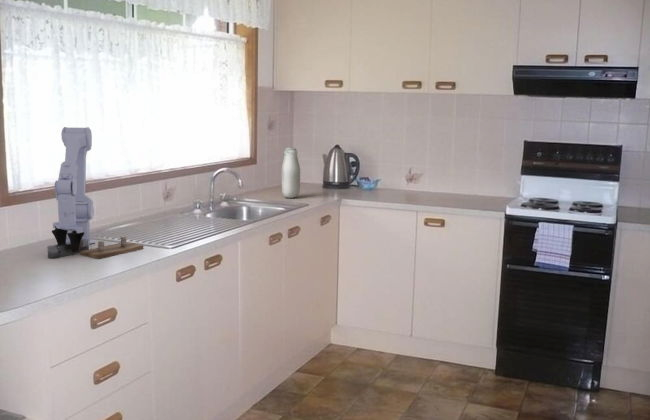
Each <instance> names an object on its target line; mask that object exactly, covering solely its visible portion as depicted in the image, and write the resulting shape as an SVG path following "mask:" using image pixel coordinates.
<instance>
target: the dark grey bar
mask: <svg viewBox="0 0 650 420" xmlns="http://www.w3.org/2000/svg"><path fill="white" fill-rule="evenodd" d="M89 245H90V244H89V240H87V239H81V242H80V245H79V250H78V252H72V249H71V243H70V242H67V243H62V244H58V243H57V244H52V245H47V247H46V248H47V259H50V260H51V259H52V260H53V259H60V258H62V257H69V256H72V255H77V254H81V251H85V250H90V246H89Z"/></svg>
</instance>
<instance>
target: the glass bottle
mask: <svg viewBox="0 0 650 420" xmlns="http://www.w3.org/2000/svg"><path fill="white" fill-rule="evenodd" d="M298 158H299V157H298V150H297V148H296V147H289V146H288V147H286V148H284V151H283V160H282V165H281V172H280V173H281V175H280V176H281V193H282V195H283V196H284V198H288V199H295V198H296V197H298V196H299V194H300V191H301V168H300V163H299V159H298Z"/></svg>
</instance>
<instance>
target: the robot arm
mask: <svg viewBox="0 0 650 420" xmlns="http://www.w3.org/2000/svg"><path fill="white" fill-rule="evenodd" d="M60 134H61V141H62V143H63V145H64V147H65V154H64V155H65V159H64V161H62V162H61V164H60V170H59V172H58V178H57V180H55V182H54V193H55V200H56V201H57V212H58V214H57V216H58V221H56V222H52V230H51V233H52V235H53V236H54V238H55V241H56V243H57V244H62V243H67V242H70V243H71V249H72V252H78V250H79V245H80V242H81V239H87V240H89V245H92V244H95V243H96V241H95V240H94V241H93V240H91V227H90V224H91V223H90V222H91V221H90V220H92V219H94V216H95V215H94V212H95V211H94V210H95V209H94V200H93V199H92V198H91V197H89V196H88V195H87V194H86V186H87V185H86V178H87V176H86V173H87V165H86V164H87V154H88V152H89V151H91V150H92V145H93V144H92V141H93V138H92V137H93V136H92V130H91V128H90V127H88V126H87V127H67V126H64V127H63V128H62V129H61V133H60Z"/></svg>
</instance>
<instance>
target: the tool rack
mask: <svg viewBox="0 0 650 420" xmlns="http://www.w3.org/2000/svg"><path fill="white" fill-rule="evenodd" d="M143 249H144V245H143V244H142V245H141V244H139V243H138V244H137V243H132V242H128V241H127V237H126V236H120V242H117V243H114V244H109V245H105V241H104V240H102V241H101V240H99V241H98V242H97V247H95V248H91V249H90V248H89V250H85V251H81V253H80V255H81V256H86V257H88V258H93V259H98V260H99V259H100V260H101V259H104V258H109V257H113V256H117V255H122V254H125V253H131V252H135V251H139V250H143Z"/></svg>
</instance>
